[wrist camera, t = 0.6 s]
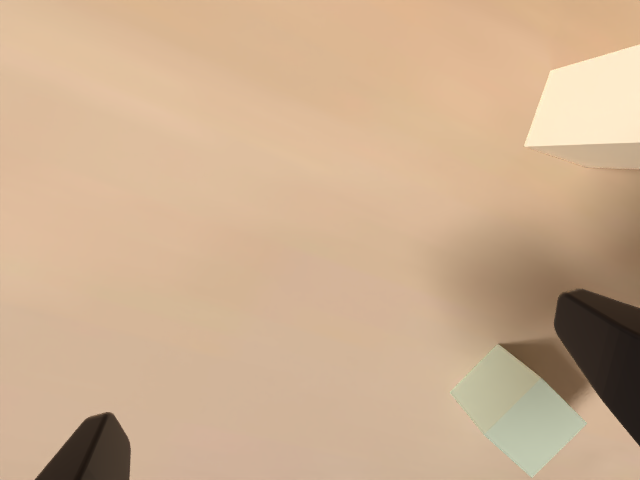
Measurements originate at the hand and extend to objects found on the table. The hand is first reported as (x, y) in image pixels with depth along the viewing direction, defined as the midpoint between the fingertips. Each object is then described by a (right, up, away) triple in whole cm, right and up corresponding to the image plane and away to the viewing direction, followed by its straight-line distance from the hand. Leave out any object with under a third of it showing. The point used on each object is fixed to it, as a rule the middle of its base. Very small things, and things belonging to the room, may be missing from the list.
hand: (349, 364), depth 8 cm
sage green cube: (+10, -6, +17) cm, 21 cm away
